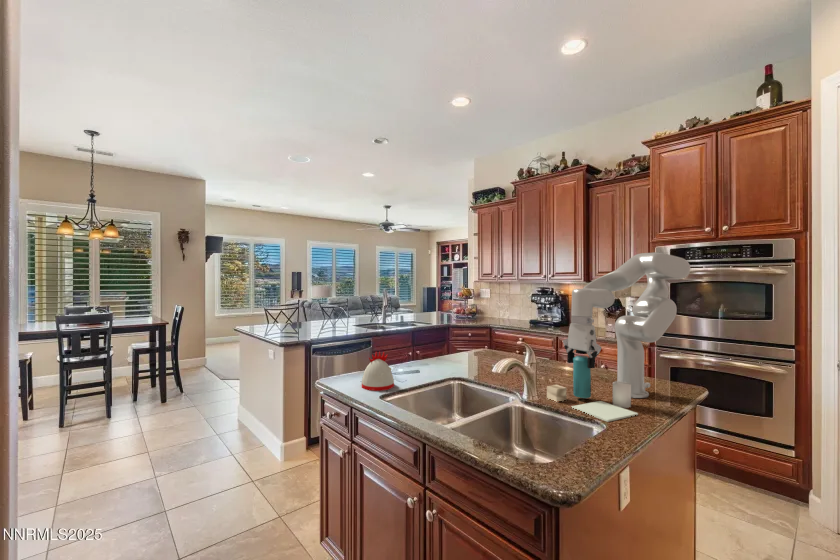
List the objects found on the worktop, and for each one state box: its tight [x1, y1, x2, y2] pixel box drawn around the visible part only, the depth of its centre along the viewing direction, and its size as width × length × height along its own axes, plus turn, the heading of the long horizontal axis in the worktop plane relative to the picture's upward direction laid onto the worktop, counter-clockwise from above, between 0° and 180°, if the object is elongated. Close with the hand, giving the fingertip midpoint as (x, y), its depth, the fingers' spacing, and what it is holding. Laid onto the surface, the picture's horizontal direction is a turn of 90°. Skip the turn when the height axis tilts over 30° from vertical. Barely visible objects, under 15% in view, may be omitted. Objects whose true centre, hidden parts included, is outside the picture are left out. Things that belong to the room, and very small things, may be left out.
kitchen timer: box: [361, 351, 395, 392], centre depth 166 cm, size 14×14×15 cm
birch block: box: [546, 384, 567, 403], centre depth 148 cm, size 5×5×5 cm
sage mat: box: [570, 400, 639, 423], centre depth 134 cm, size 15×15×1 cm
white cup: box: [612, 380, 632, 409], centre depth 141 cm, size 6×6×8 cm
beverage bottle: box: [572, 350, 592, 399], centre depth 148 cm, size 6×7×20 cm
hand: (580, 365), depth 148 cm, fingers open, 9 cm apart
